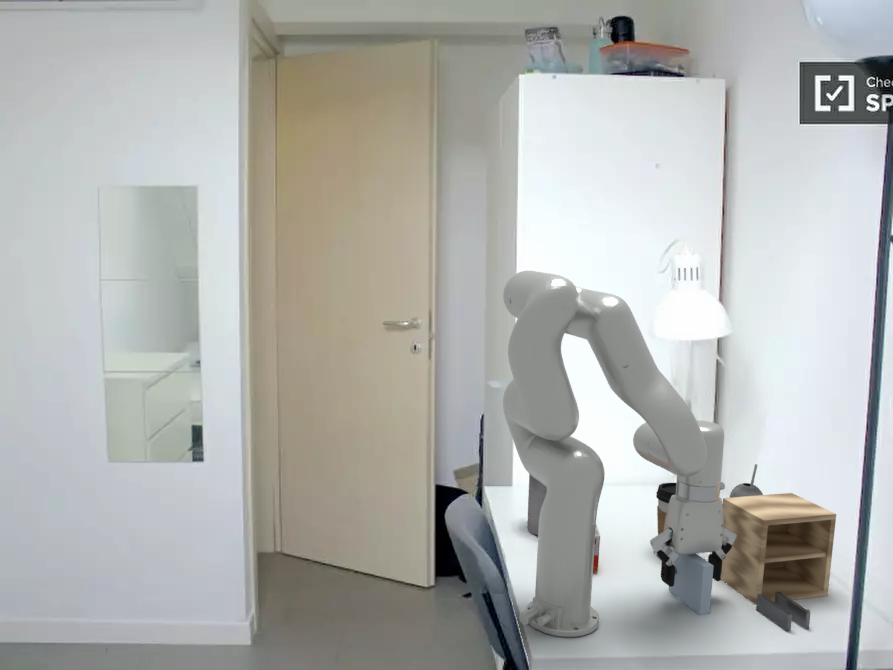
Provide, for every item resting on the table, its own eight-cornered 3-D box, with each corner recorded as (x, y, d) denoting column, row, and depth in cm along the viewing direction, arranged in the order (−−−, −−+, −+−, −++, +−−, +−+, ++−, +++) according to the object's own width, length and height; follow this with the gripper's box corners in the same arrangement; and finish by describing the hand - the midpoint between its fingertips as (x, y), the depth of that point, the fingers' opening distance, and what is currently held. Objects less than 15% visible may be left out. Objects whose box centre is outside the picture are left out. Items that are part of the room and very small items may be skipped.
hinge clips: (808, 628, 141) (810, 612, 140) (786, 631, 139) (788, 614, 139) (777, 607, 148) (779, 591, 148) (756, 609, 147) (757, 594, 147)
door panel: (709, 613, 145) (713, 565, 144) (695, 615, 144) (699, 567, 143) (677, 589, 154) (681, 543, 153) (664, 590, 154) (668, 544, 152)
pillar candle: (569, 523, 186) (572, 459, 184) (571, 540, 176) (574, 472, 174) (526, 521, 187) (529, 457, 185) (526, 537, 177) (529, 470, 175)
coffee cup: (695, 566, 165) (701, 494, 163) (652, 561, 167) (658, 490, 164) (692, 550, 173) (697, 482, 171) (651, 545, 175) (656, 478, 173)
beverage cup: (727, 546, 176) (735, 456, 173) (763, 554, 172) (772, 462, 170) (719, 557, 170) (728, 464, 167) (756, 566, 166) (765, 471, 163)
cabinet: (827, 595, 154) (836, 514, 152) (755, 604, 149) (763, 520, 147) (784, 569, 165) (791, 492, 163) (716, 576, 160) (722, 498, 158)
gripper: (726, 480, 152) (718, 567, 155) (644, 486, 147) (638, 576, 150) (752, 493, 145) (744, 584, 148) (666, 500, 140) (660, 595, 143)
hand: (690, 580), depth 149 cm, fingers open, 9 cm apart
